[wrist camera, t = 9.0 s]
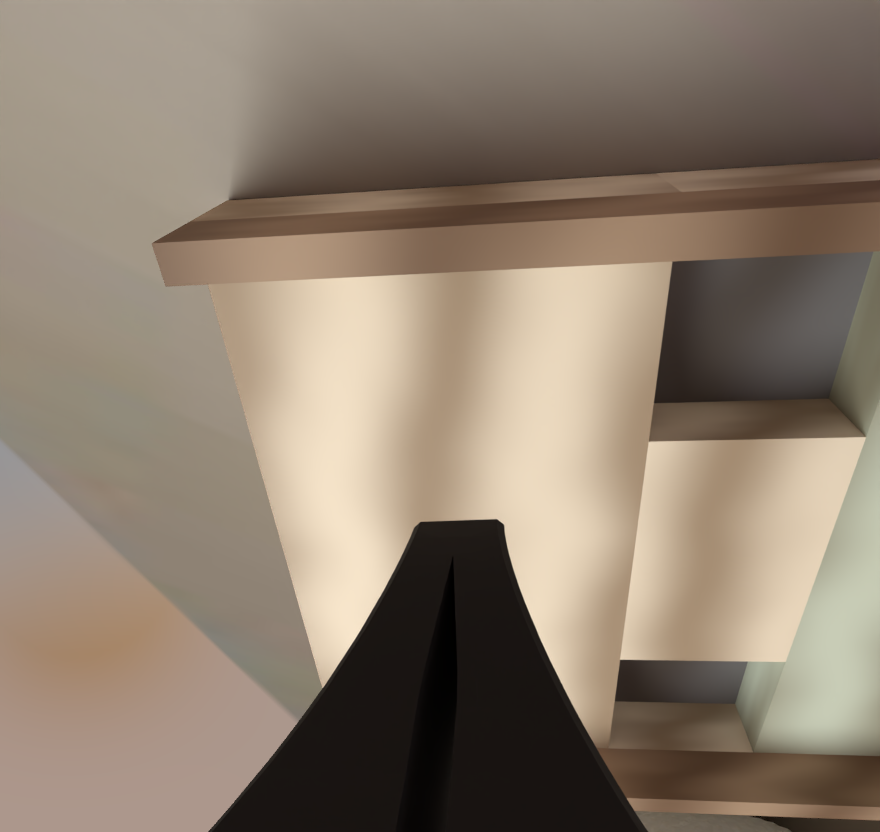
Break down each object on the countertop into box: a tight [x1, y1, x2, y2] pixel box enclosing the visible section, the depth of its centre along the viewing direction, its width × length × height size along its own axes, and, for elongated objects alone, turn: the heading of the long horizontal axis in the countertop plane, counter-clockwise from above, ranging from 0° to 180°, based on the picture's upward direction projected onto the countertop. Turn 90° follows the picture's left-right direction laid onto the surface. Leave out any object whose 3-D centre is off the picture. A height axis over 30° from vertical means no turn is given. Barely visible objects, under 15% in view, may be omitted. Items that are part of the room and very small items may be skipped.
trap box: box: [152, 159, 880, 820], centre depth 20 cm, size 29×24×5 cm
